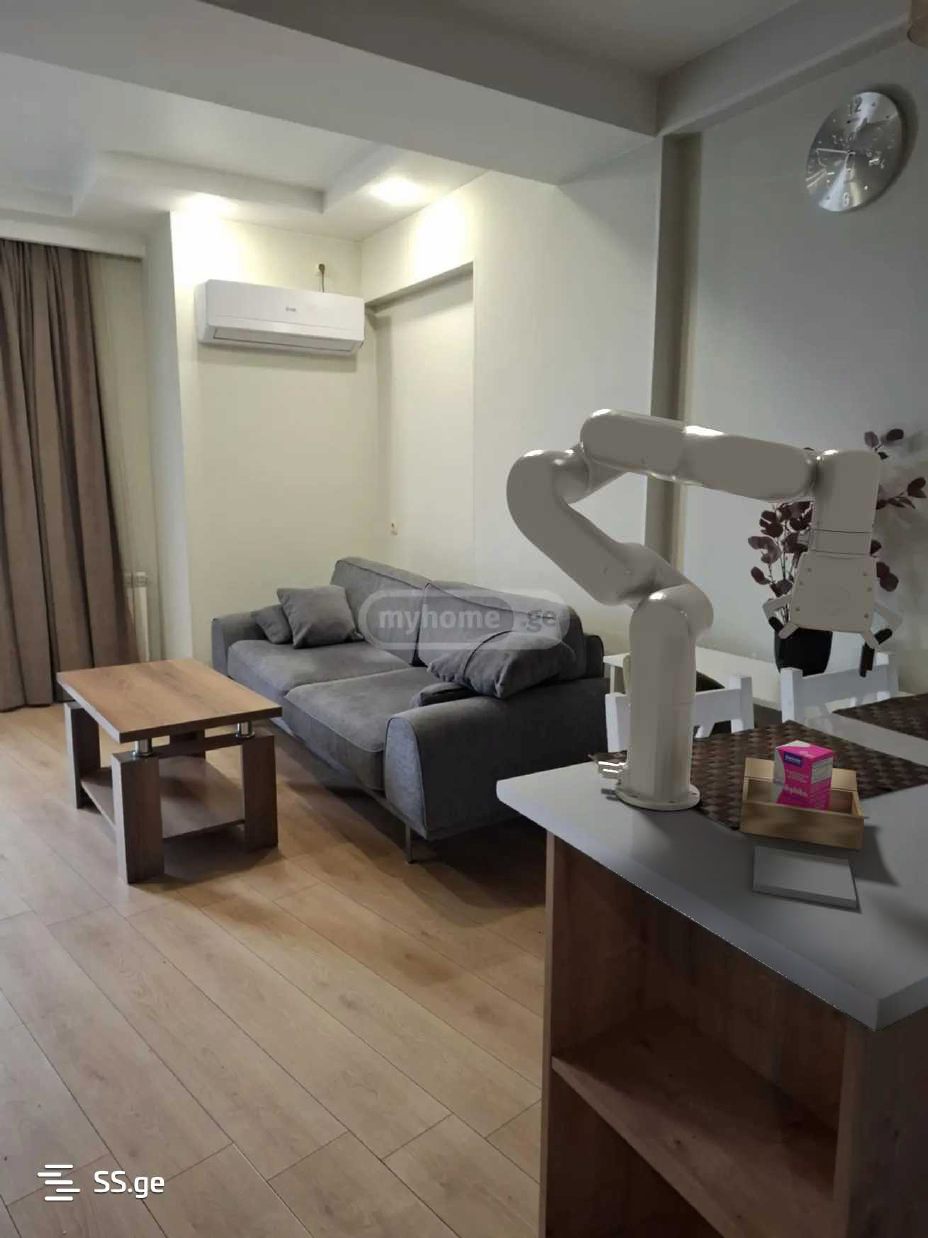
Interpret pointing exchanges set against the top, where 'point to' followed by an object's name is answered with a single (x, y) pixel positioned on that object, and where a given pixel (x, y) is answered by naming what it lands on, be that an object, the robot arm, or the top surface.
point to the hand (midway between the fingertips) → (823, 670)
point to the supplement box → (802, 775)
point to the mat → (803, 876)
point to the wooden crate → (802, 810)
